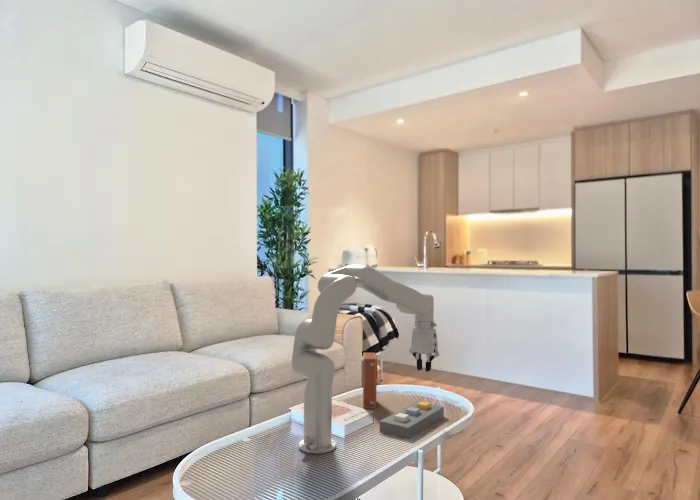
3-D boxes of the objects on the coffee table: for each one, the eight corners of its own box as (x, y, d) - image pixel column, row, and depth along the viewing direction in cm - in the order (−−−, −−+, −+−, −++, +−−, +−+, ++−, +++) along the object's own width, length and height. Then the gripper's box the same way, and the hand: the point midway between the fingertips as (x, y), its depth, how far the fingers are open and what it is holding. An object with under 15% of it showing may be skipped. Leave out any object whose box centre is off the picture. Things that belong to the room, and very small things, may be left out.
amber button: (425, 413, 193) (425, 405, 193) (416, 411, 195) (416, 403, 195) (430, 410, 196) (430, 403, 196) (421, 408, 198) (421, 401, 198)
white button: (403, 425, 178) (403, 417, 178) (394, 423, 181) (394, 415, 181) (409, 422, 181) (409, 414, 182) (399, 420, 184) (399, 412, 184)
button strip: (408, 439, 173) (408, 427, 173) (379, 431, 180) (379, 420, 180) (443, 416, 197) (443, 406, 197) (417, 411, 204) (417, 401, 204)
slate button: (415, 419, 186) (415, 411, 186) (406, 417, 188) (406, 409, 188) (420, 416, 189) (420, 408, 189) (410, 414, 191) (411, 406, 191)
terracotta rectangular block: (376, 399, 221) (377, 409, 206) (360, 398, 221) (361, 409, 206) (376, 352, 221) (377, 358, 206) (361, 351, 221) (361, 358, 206)
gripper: (446, 325, 194) (446, 371, 194) (410, 322, 204) (410, 366, 204) (438, 328, 188) (438, 375, 188) (401, 324, 198) (401, 369, 198)
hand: (423, 370), depth 196 cm, fingers open, 3 cm apart
